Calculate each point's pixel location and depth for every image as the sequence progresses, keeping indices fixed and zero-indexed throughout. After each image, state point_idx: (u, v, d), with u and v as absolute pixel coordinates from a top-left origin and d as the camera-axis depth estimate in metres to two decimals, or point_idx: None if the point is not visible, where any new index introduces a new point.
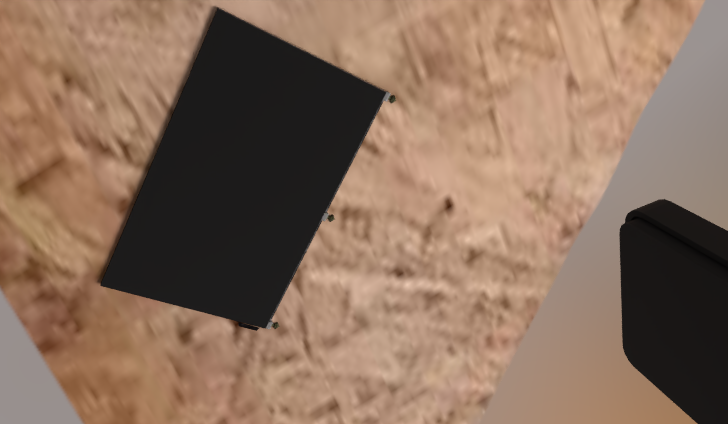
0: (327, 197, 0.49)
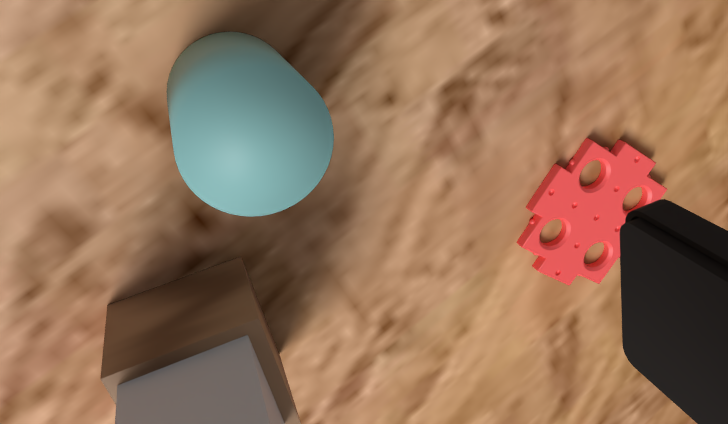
0: None
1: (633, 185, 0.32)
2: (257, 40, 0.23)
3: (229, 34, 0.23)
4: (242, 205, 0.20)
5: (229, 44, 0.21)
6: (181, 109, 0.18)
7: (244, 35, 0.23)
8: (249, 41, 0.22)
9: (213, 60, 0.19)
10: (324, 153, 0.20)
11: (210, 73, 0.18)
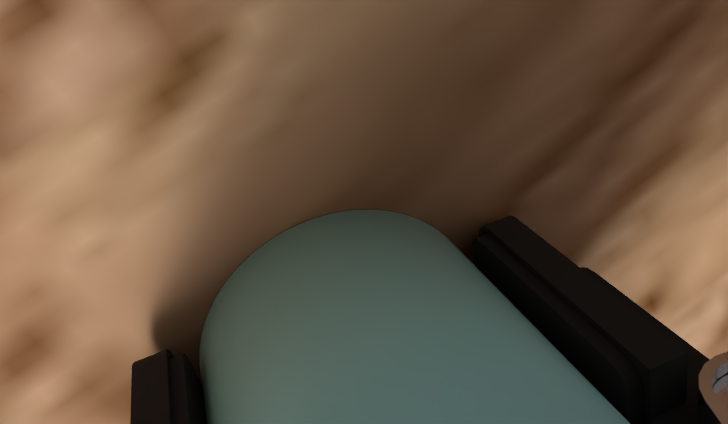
0: None
1: None
2: (430, 243, 0.09)
3: (359, 228, 0.09)
4: None
5: (392, 303, 0.07)
6: None
7: (394, 226, 0.09)
8: (428, 267, 0.08)
9: None
10: None
11: None
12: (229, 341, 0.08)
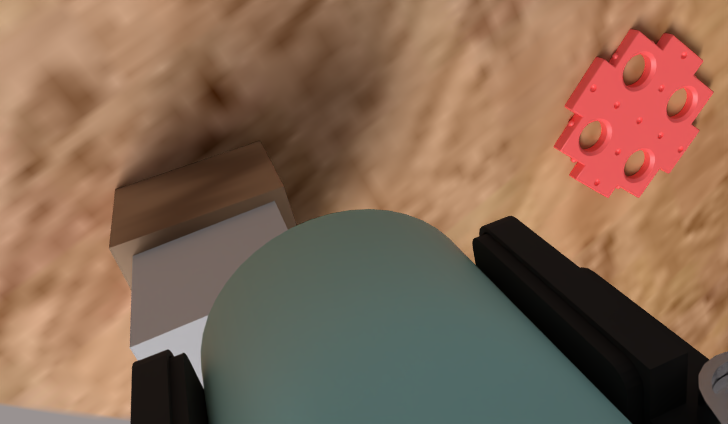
0: None
1: (679, 85, 0.30)
2: (431, 242, 0.09)
3: (361, 227, 0.09)
4: None
5: (394, 303, 0.07)
6: None
7: (395, 226, 0.09)
8: (429, 267, 0.08)
9: None
10: None
11: None
12: (230, 341, 0.08)
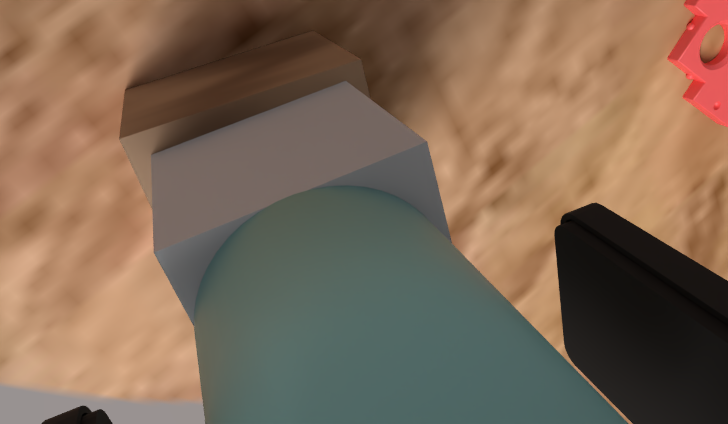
0: None
1: None
2: (402, 214, 0.10)
3: (338, 200, 0.10)
4: None
5: (362, 261, 0.08)
6: None
7: (370, 199, 0.10)
8: (397, 232, 0.09)
9: (345, 355, 0.07)
10: None
11: None
12: (219, 300, 0.09)
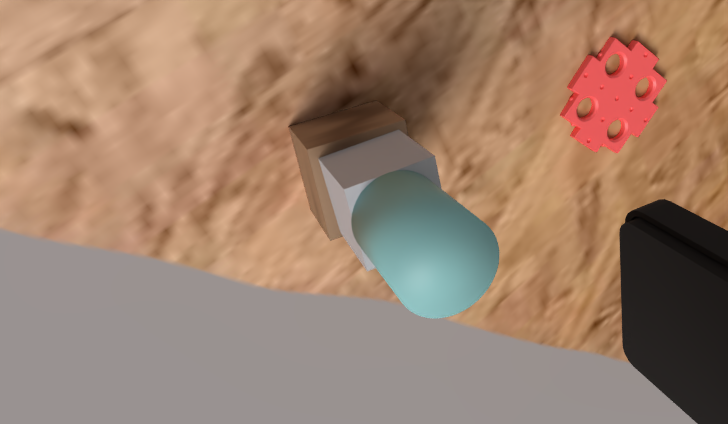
0: None
1: (643, 75, 0.45)
2: (426, 179, 0.30)
3: (405, 174, 0.30)
4: (431, 310, 0.27)
5: (417, 188, 0.28)
6: (404, 246, 0.25)
7: (415, 174, 0.30)
8: (425, 183, 0.29)
9: (416, 206, 0.27)
10: (491, 273, 0.27)
11: (424, 220, 0.25)
12: (369, 203, 0.29)
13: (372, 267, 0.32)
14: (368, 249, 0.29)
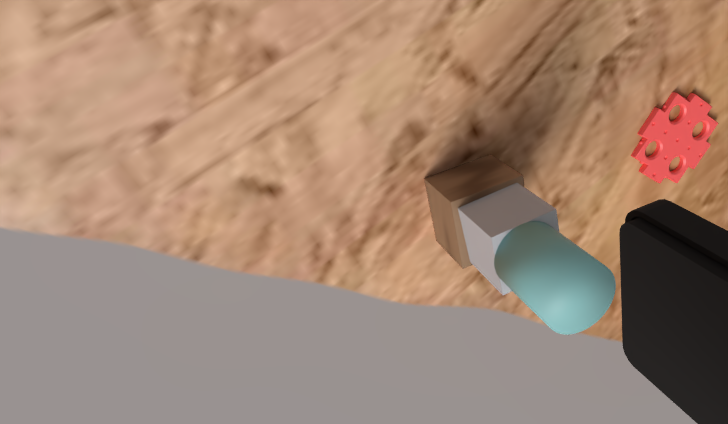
0: None
1: (699, 120, 0.54)
2: (552, 228, 0.40)
3: (536, 225, 0.40)
4: (567, 329, 0.37)
5: (550, 239, 0.38)
6: (553, 287, 0.36)
7: (543, 224, 0.40)
8: (554, 233, 0.39)
9: (555, 255, 0.37)
10: (609, 301, 0.38)
11: (565, 268, 0.36)
12: (512, 249, 0.40)
13: (506, 292, 0.43)
14: (514, 283, 0.39)
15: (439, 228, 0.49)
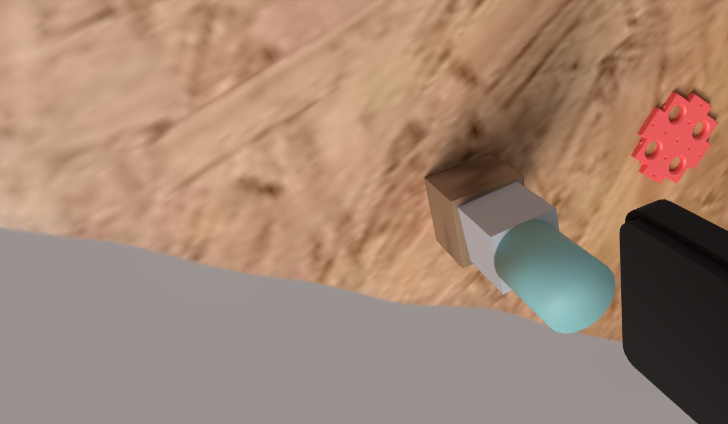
0: None
1: (699, 120, 0.54)
2: (551, 227, 0.40)
3: (535, 224, 0.40)
4: (566, 328, 0.37)
5: (549, 238, 0.38)
6: (551, 286, 0.35)
7: (542, 223, 0.40)
8: (553, 232, 0.39)
9: (554, 254, 0.37)
10: (609, 299, 0.37)
11: (564, 267, 0.36)
12: (511, 248, 0.40)
13: (507, 291, 0.43)
14: (513, 283, 0.39)
15: (439, 227, 0.49)
